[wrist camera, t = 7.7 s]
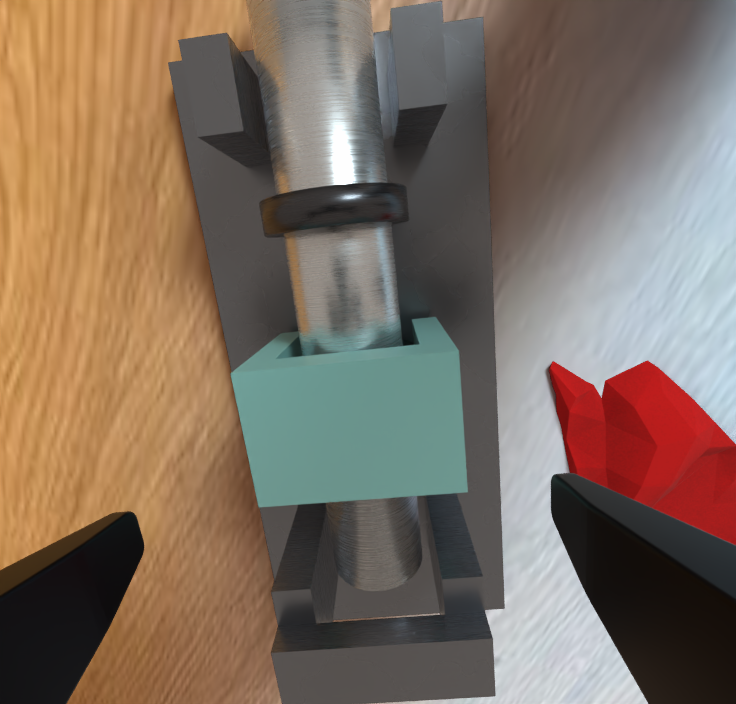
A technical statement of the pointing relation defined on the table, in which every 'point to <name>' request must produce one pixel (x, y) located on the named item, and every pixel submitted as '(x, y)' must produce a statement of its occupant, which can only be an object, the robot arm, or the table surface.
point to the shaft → (336, 228)
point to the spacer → (353, 420)
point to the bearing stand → (416, 300)
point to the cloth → (650, 445)
